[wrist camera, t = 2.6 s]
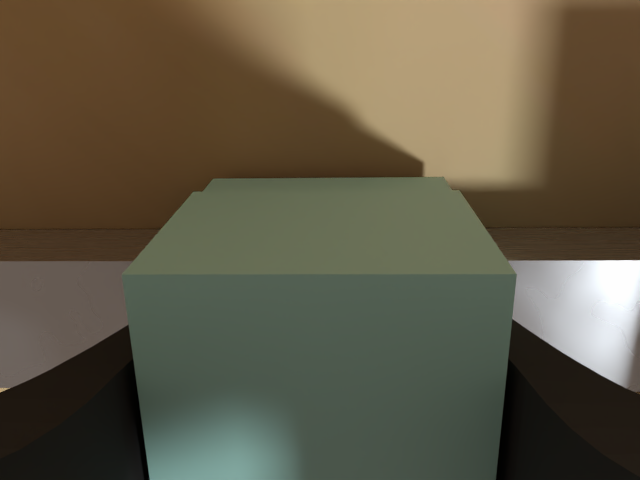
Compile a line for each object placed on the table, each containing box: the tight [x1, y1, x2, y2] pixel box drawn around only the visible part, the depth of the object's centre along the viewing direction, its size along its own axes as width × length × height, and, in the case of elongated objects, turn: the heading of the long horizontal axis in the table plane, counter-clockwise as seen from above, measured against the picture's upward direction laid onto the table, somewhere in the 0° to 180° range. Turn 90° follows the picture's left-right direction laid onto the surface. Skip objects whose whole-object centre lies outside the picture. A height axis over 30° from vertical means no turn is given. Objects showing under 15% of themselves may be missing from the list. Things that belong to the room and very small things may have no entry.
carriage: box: [122, 177, 517, 480], centre depth 11 cm, size 6×5×6 cm
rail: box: [0, 228, 640, 392], centre depth 14 cm, size 3×22×2 cm, turn 91°
